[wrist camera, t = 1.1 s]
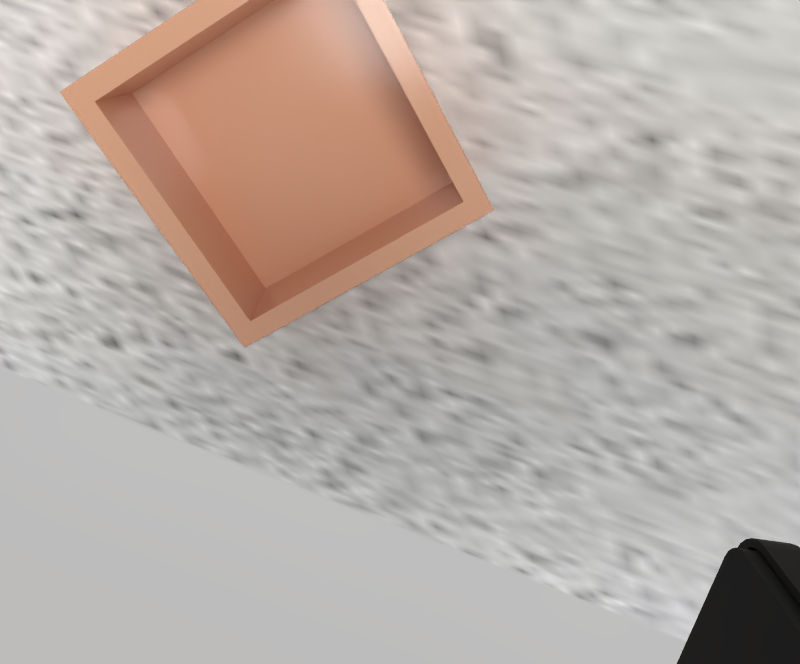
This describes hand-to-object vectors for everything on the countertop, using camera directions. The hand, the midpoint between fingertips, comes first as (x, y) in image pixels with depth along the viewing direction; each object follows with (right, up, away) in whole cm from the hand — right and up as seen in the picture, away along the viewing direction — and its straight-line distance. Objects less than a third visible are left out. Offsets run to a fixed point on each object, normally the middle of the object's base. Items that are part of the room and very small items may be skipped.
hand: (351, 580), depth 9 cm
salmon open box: (-4, +12, +23) cm, 26 cm away
